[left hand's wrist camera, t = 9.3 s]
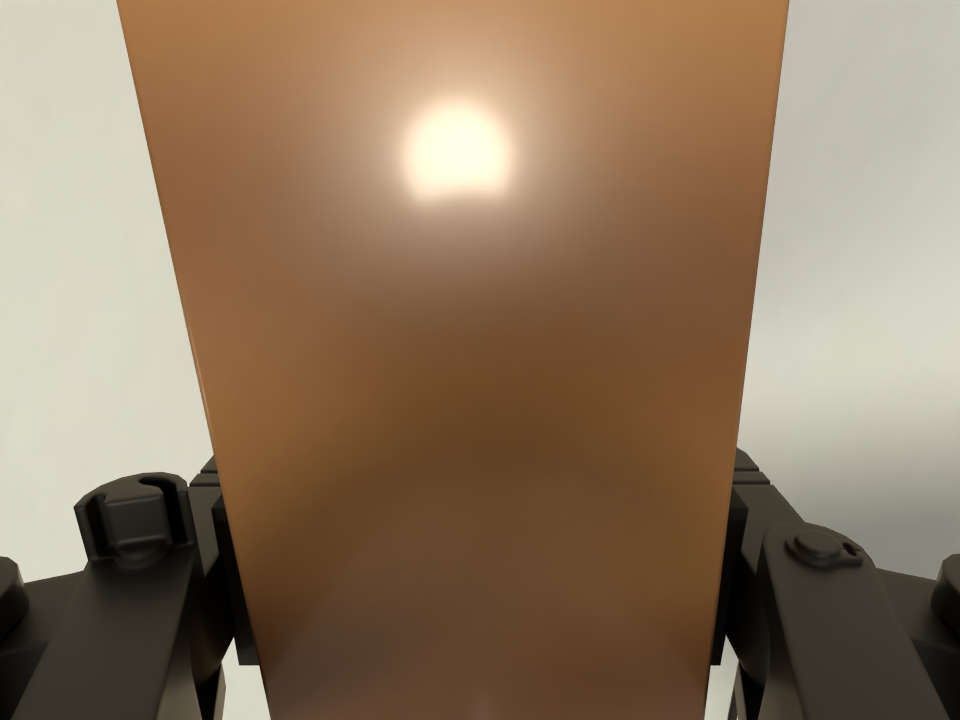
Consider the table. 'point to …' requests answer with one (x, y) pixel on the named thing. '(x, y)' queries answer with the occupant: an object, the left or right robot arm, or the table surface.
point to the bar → (468, 333)
